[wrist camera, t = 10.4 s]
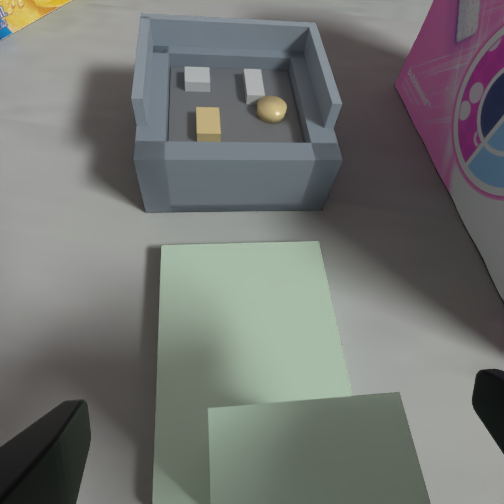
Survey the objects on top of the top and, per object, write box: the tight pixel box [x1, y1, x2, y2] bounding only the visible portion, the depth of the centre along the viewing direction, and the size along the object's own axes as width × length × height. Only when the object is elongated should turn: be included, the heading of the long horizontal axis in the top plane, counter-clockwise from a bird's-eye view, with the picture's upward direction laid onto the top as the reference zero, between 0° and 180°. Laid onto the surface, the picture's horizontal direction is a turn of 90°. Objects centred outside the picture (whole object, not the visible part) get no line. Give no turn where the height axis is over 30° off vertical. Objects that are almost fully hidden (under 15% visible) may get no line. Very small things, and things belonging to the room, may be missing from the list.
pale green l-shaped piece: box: [152, 241, 431, 504], centre depth 13 cm, size 11×8×9 cm
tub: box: [131, 13, 343, 213], centre depth 21 cm, size 10×10×6 cm
